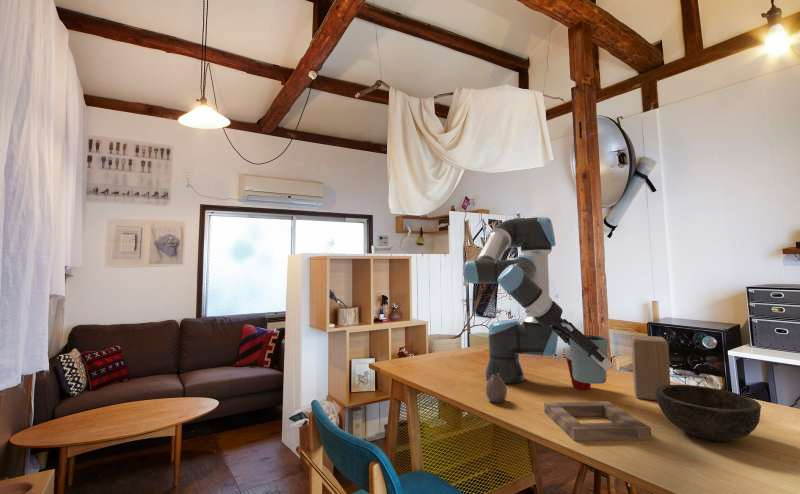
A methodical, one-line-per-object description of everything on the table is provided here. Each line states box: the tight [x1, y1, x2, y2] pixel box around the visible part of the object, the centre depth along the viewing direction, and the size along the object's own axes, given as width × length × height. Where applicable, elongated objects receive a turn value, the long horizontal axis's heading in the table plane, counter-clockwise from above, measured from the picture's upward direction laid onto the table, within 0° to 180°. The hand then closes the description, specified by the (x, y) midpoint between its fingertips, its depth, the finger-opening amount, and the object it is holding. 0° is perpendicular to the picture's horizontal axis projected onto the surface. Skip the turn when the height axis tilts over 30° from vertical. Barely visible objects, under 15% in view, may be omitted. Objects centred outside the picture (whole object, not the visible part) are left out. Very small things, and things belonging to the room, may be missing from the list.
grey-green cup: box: [569, 334, 609, 385], centre depth 111 cm, size 10×10×12 cm
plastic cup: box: [564, 351, 592, 391], centre depth 143 cm, size 11×11×12 cm
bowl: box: [656, 384, 762, 442], centre depth 101 cm, size 22×22×10 cm
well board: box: [543, 400, 653, 442], centre depth 109 cm, size 20×20×3 cm
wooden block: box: [631, 334, 671, 402], centre depth 133 cm, size 10×10×20 cm
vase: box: [485, 374, 508, 404], centre depth 130 cm, size 7×7×9 cm
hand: (599, 363), depth 111 cm, fingers closed on grey-green cup, 10 cm apart
